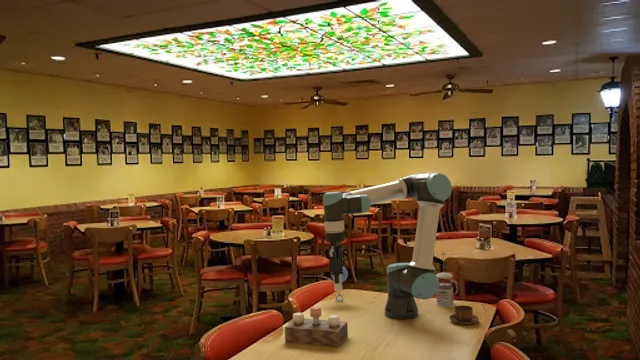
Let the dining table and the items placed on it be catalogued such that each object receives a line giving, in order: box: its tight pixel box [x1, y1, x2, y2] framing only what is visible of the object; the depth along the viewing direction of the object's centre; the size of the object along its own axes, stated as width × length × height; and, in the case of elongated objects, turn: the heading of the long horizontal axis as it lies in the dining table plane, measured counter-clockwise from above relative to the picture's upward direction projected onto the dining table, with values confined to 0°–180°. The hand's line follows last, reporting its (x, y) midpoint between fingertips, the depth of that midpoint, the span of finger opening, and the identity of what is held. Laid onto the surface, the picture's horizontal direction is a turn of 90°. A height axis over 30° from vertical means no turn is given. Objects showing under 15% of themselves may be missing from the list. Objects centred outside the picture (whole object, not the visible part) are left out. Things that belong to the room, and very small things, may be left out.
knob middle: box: [309, 305, 322, 326], centre depth 194 cm, size 4×4×7 cm
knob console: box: [284, 317, 349, 348], centre depth 194 cm, size 22×12×6 cm, turn 70°
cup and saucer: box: [449, 304, 479, 325], centre depth 208 cm, size 12×12×6 cm
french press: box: [434, 252, 459, 308], centre depth 234 cm, size 10×12×25 cm
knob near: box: [327, 314, 341, 327], centre depth 191 cm, size 4×4×7 cm
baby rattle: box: [330, 266, 349, 302], centre depth 248 cm, size 9×9×18 cm
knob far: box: [292, 312, 305, 324], centre depth 196 cm, size 4×4×7 cm
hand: (338, 290), depth 193 cm, fingers closed
